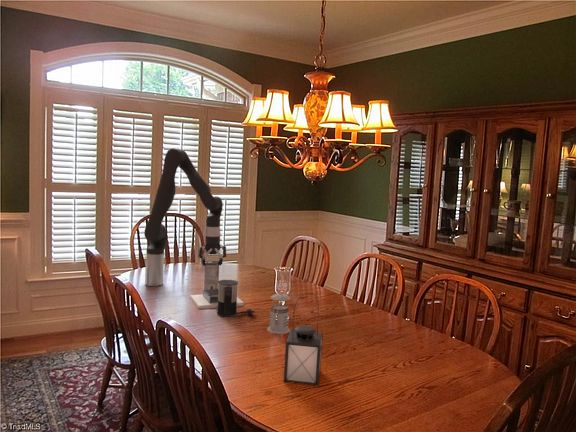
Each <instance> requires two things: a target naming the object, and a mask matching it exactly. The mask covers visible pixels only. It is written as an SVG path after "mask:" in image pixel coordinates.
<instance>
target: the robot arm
mask: <svg viewBox="0 0 576 432" xmlns="http://www.w3.org/2000/svg"><path fill="white" fill-rule="evenodd" d="M178 168H180V169H181V170H182V172H184V174H185V175H186V177H187V178H188V179H187V180H188V182H189V184H190V186H191V188H192V189H193V190H194V192H195V193H196V194H197V195H198V196H199V199H200V202H202V204H203V207H205V208H206V210H208V211H209V214H208V215H206V219H205V220H206V221H205V222H206V225H205V226H206V228H205V243H204V244H205V245H204V246H201V245H199V246H198V256H197V257H198V258H199V259H201V265H202V266H203V267H205V263H206V258H207V256H209V255H217V256H218V261H219V266H222V265H223V259H224V258H226V257H227V246H226V245H221V216H222V212H223V206H224V205H223V204H224V203H223V200H222V199H221V197H219V196H214V195H212V193H211V192H212V191H211V190H212V189H211V188H210V186H209V185H208V183H207V182H206V181H205V180H204V179H203V177H202V176H201V175H200V173H199V172H198V170H197V168H196V167H195V166H194V164H193V163H192V160H191V159H190V156H189V155H188V154H187V152H186V151H185V149H181V148H174V147H173V148H170V149H168V150H167V152H166V153H165V156H164V161H163V167H162V173H161V176H160V178H159V179H160V180H159V183H158V187H157V190H156V194H155V197H154V202H153V205H152V209H151V212H150V215H149V218H148V221H147V223H146V225H145V228H144V231H143V232H144V233H143V234H144V237H145V239H146V240H147V241H148V242H149V245H148V246H147V247H146V252H145V253H146V254H145V255H146V257H145V258H146V260H145V271H144V272H145V273H144V277H145V278H144V284H145V285H147V286H146V287H160V286H159V285H161V286H163V285H164V272H165V271H164V266H165V265H164V264H165V249H166V247H167V228H166V226H165V225H164V224H163V220H164V218H165V216H166V214H167V213H168V211H169V210H170V209H171V207H172V204H173V201H174V200H175V199H174V198H175V195H176V182H175V181H176V173H177V170H178ZM204 250H205V251H204ZM220 250H222V254H221V252H220ZM203 251H204V253H203ZM162 284H163V285H162Z"/></svg>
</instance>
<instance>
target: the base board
mask: <svg viewBox="0 0 576 432" xmlns="http://www.w3.org/2000/svg"><path fill="white" fill-rule="evenodd" d="M215 296H218V295H215ZM211 297H213V296H211ZM189 298H191V299H190V300H191V302H192V303H193V304H194V306H195V307H196V308H197V309H198V310H201V309H204V310H205V309H213V308H217V307H218V303H209V302H208V301H207V300H206V299H205V298H204V297H203V293H201V294H190V296H189ZM244 304H245V302H244V301H242V299H240V297H238V296H237V307H241V306H244Z"/></svg>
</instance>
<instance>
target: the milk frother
mask: <svg viewBox="0 0 576 432" xmlns="http://www.w3.org/2000/svg"><path fill="white" fill-rule="evenodd" d="M238 284H239V281H238V280H235V279H234V280H233V279H221V280H219V281H218V307H217V309H216V315H217V316H221V317H234V316H236V315H241V314H242V315H243V314H247V316H251V315H252V314H253V313H256V311H255V310H252V309H251V308H250V309H247V310H243V311H238V312H237V309H238V308H237V307H238V306H237V297H238Z"/></svg>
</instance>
